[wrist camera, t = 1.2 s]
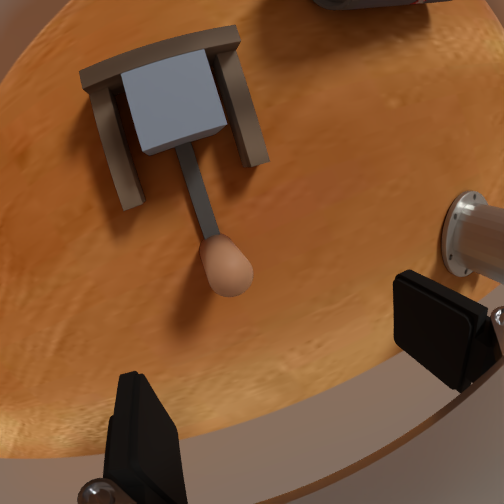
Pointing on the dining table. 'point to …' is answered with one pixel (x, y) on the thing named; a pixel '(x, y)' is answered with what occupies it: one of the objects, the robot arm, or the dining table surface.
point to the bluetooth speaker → (367, 3)
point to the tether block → (187, 148)
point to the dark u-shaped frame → (109, 71)
